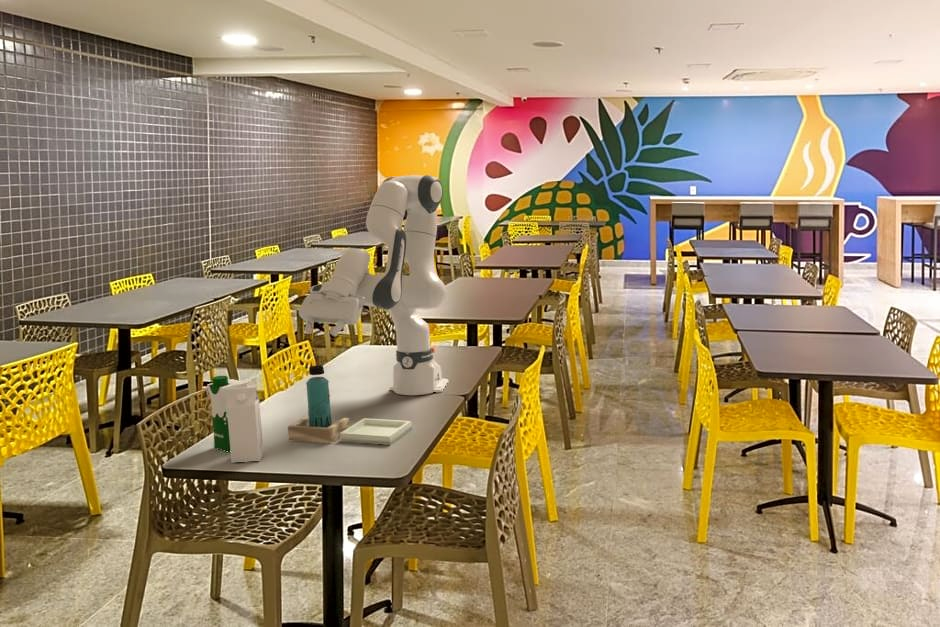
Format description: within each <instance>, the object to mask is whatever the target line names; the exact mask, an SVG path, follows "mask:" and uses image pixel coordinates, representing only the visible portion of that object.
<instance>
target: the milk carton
mask: <svg viewBox="0 0 940 627" xmlns="http://www.w3.org/2000/svg"><path fill="white" fill-rule="evenodd" d="M260 407H261V405H260V398H259V395H258V393H257V387H256V386H255V387H254V386H253V387H247V388H234V389H228V401H227V415H228V427H229V439H230V450H231V452H230V459H231V462H230V463H232V462H245V461H259V462H260V461H261V459H262V457H261V456H263V455H264V445H263V444H264V443H263V431H262V430H263V429H262V418H261V408H260ZM245 463H246V462H245Z"/></svg>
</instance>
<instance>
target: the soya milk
mask: <svg viewBox="0 0 940 627" xmlns="http://www.w3.org/2000/svg"><path fill="white" fill-rule="evenodd" d="M211 380H212V382H211V383H209V384H208V383H207V384H206V385H207V391H208V394H209V397H210V404H211V407H210V408H211V416H212V429H213V447H214V449H217V448H218V449H217V450H220V449H222V450H221V451H223V450H225V451H224V452H226V451H228V452H227V453H231V452H230V451H231V450H230V439H229V427H228V415H227V401H228V389H234V388H248V381H244V380H243V381H242V380H238V379H233V378H232V379H230V378H229V377H228V375H218V376H217V375H216V376H213V377H212V379H211Z"/></svg>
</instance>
